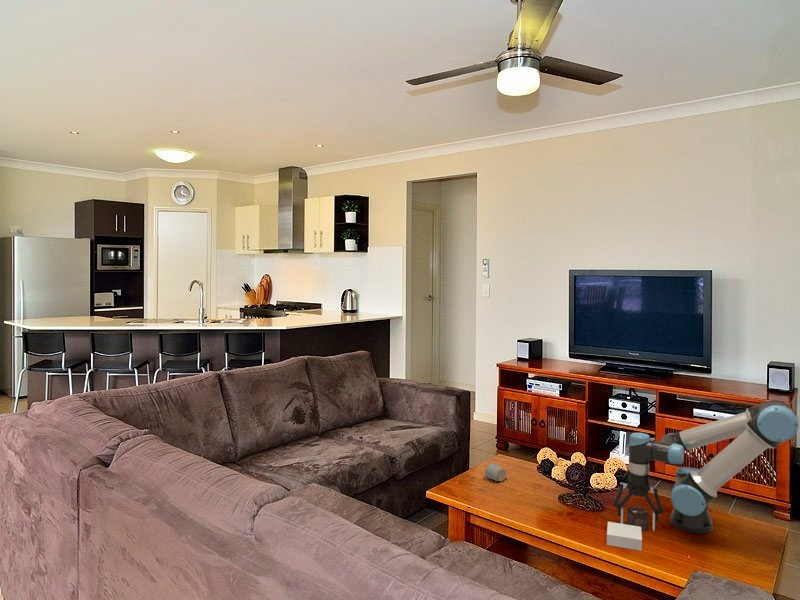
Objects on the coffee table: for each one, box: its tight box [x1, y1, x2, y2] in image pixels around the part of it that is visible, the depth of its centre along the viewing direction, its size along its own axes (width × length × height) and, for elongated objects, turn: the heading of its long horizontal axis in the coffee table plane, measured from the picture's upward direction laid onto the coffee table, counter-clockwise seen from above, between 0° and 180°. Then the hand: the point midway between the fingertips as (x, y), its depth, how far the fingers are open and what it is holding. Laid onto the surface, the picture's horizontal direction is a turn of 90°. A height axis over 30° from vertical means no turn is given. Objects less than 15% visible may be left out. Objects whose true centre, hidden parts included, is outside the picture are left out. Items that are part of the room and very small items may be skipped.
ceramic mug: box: [484, 462, 508, 482], centre depth 276 cm, size 11×8×8 cm
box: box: [626, 506, 650, 531], centre depth 223 cm, size 6×6×7 cm
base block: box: [606, 521, 643, 552], centre depth 211 cm, size 12×12×4 cm
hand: (637, 526), depth 223 cm, fingers open, 11 cm apart
